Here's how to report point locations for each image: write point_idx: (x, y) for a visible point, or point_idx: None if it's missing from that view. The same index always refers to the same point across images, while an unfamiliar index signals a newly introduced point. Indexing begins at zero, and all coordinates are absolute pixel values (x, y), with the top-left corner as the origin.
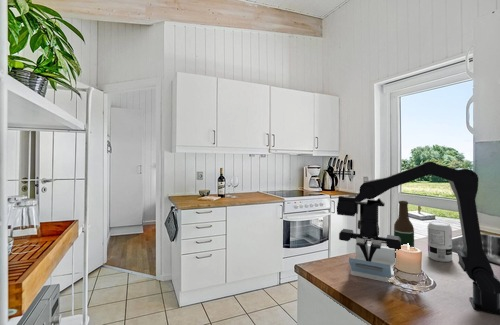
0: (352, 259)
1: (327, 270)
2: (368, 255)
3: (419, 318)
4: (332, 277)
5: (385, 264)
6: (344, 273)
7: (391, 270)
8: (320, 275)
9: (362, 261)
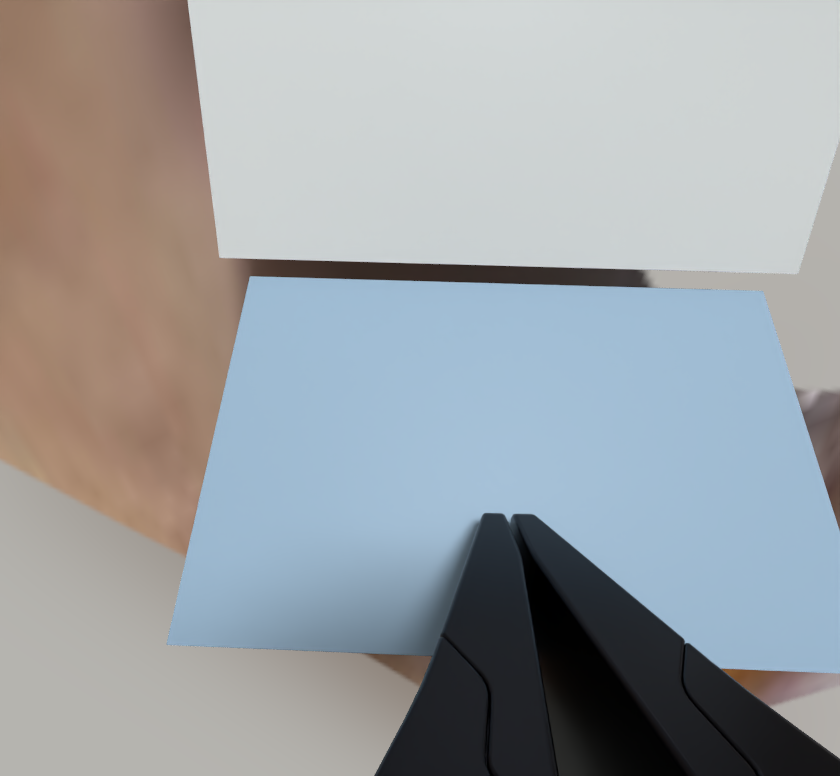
0: (238, 644)
1: (2, 263)
2: (527, 598)
3: (763, 695)
4: (130, 411)
5: (802, 668)
6: (194, 252)
7: (811, 107)
8: (17, 421)
9: (410, 649)
